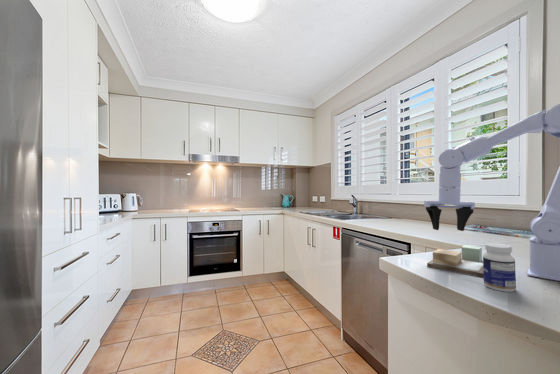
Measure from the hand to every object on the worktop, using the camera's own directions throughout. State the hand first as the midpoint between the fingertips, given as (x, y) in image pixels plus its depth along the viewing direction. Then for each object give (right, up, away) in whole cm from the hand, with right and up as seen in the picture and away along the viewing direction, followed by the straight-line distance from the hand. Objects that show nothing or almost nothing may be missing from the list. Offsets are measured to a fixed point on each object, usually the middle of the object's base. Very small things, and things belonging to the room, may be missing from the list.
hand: (448, 229), depth 80 cm
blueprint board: (-1, -10, -7) cm, 12 cm away
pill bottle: (-3, -10, -22) cm, 24 cm away
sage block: (+8, -10, 0) cm, 13 cm away
